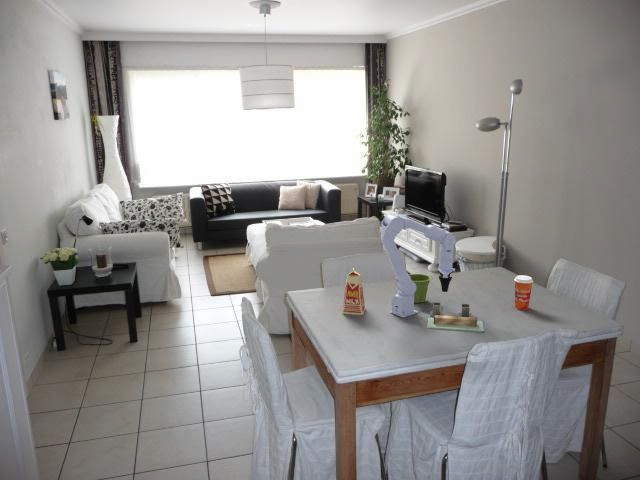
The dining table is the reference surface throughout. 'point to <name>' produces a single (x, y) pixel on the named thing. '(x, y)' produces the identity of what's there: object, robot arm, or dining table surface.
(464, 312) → the standards
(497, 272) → the dining table surface
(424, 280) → the plant pot
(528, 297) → the paper cup
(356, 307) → the milk carton
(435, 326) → the mat
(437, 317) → the rail
